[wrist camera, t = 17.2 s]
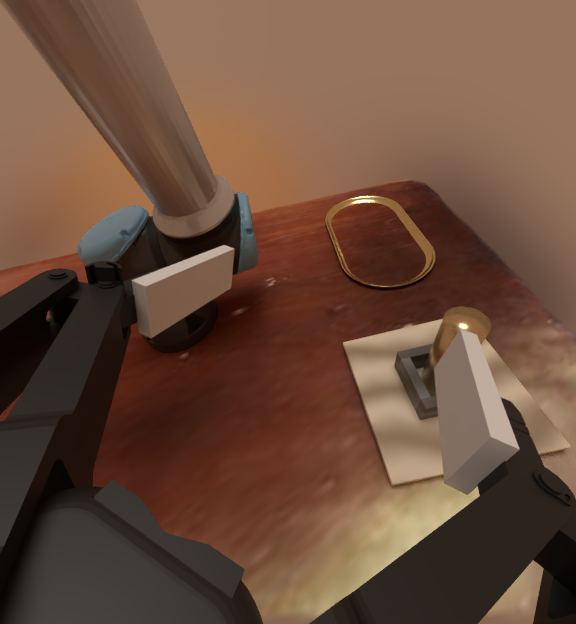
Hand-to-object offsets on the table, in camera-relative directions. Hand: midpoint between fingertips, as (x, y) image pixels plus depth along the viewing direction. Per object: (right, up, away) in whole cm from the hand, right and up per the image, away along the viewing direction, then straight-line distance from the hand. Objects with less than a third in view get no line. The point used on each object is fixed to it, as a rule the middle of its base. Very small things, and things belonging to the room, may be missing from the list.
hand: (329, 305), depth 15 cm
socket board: (+18, -11, +23) cm, 31 cm away
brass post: (+18, -10, +21) cm, 30 cm away
